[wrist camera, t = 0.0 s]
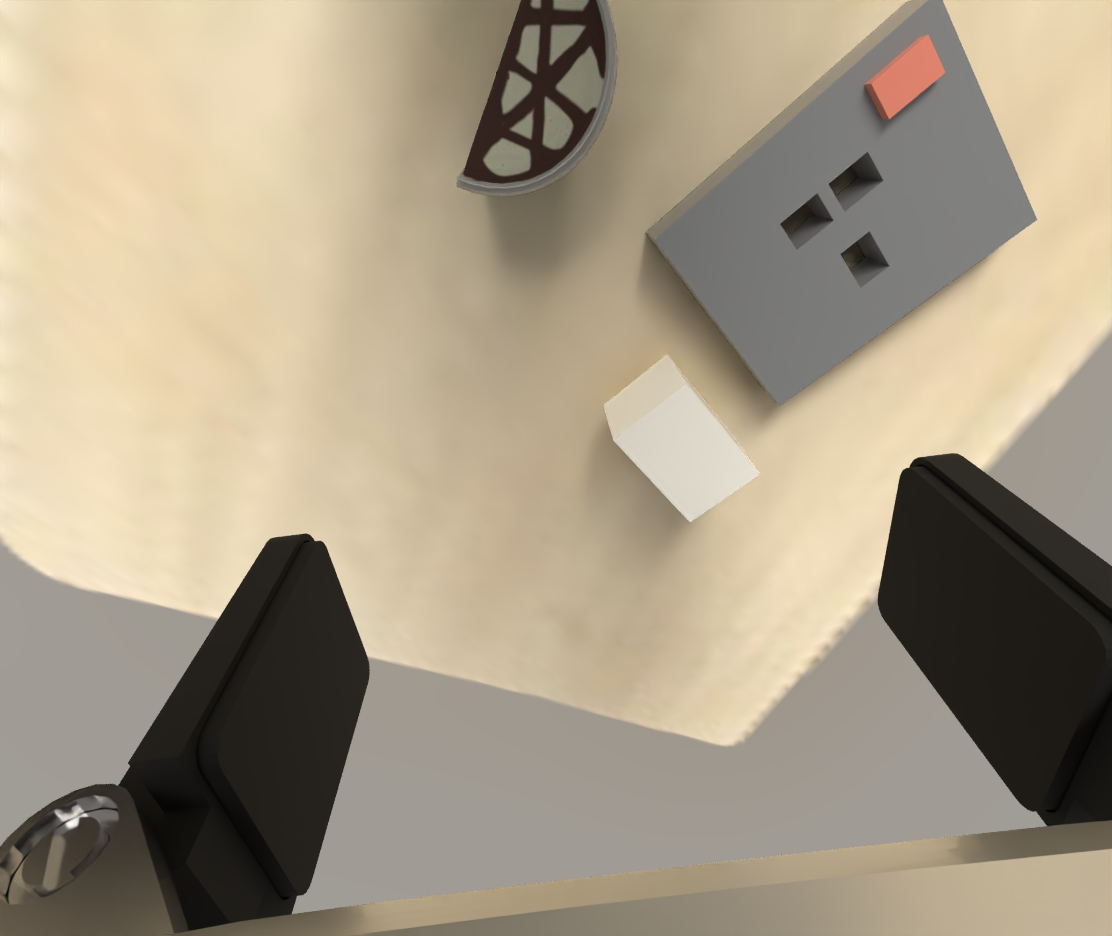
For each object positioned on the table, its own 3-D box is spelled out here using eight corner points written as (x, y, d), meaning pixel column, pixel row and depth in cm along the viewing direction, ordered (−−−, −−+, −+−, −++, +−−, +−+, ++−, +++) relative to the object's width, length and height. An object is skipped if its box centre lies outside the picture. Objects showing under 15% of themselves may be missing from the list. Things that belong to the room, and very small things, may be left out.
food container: (552, 217, 42) (559, 239, 33) (468, 177, 41) (453, 189, 32) (634, 17, 37) (668, -19, 28) (541, -37, 35) (547, -92, 27)
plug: (598, 390, 48) (613, 440, 41) (659, 341, 47) (686, 383, 39) (664, 463, 52) (690, 522, 44) (723, 420, 50) (760, 473, 42)
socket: (645, 232, 43) (656, 241, 39) (906, 2, 37) (947, -12, 33) (764, 390, 49) (783, 410, 45) (1002, 213, 43) (1046, 221, 40)
